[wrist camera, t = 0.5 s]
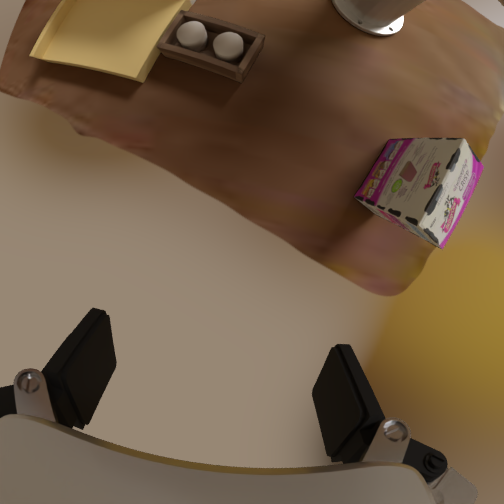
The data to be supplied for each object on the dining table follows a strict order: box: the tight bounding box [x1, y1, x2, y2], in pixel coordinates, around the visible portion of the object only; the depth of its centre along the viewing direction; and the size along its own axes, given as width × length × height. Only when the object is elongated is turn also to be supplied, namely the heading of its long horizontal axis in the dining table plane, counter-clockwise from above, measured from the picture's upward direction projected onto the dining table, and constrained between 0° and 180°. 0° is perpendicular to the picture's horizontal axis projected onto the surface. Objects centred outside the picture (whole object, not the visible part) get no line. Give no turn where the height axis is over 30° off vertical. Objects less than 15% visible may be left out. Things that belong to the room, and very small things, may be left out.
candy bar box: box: [354, 138, 484, 249], centre depth 28 cm, size 11×5×16 cm, turn 149°
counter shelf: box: [30, 0, 196, 83], centre depth 19 cm, size 17×23×14 cm
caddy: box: [156, 10, 265, 83], centre depth 27 cm, size 6×12×5 cm, turn 64°
